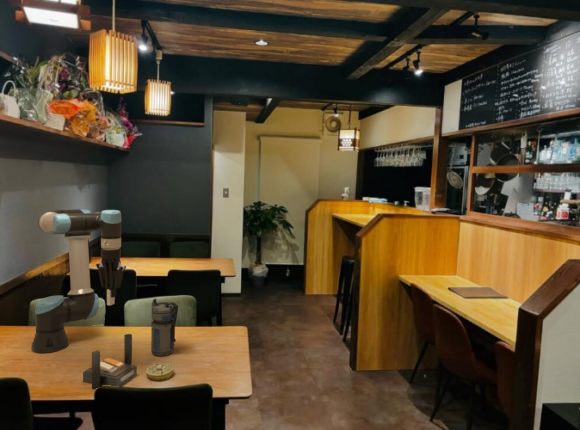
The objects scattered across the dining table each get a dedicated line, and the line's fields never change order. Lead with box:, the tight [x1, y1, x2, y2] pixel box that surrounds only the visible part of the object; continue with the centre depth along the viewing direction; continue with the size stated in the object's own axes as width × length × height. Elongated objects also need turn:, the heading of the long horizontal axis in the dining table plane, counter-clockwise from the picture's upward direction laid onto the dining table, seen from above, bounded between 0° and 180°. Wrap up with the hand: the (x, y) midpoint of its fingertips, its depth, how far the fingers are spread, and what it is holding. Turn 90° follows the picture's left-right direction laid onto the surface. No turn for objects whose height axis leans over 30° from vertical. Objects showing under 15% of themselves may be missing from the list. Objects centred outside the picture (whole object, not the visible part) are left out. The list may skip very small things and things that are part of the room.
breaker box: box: [82, 359, 138, 387], centre depth 168 cm, size 16×12×5 cm
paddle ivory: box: [100, 361, 117, 373], centre depth 166 cm, size 8×3×1 cm, turn 74°
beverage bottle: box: [150, 298, 179, 357], centre depth 194 cm, size 10×13×25 cm
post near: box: [91, 350, 101, 390], centre depth 160 cm, size 3×3×14 cm
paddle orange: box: [103, 357, 124, 369], centre depth 170 cm, size 8×3×1 cm, turn 74°
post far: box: [123, 333, 133, 365], centre depth 179 cm, size 3×3×14 cm
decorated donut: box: [145, 363, 174, 381], centre depth 172 cm, size 10×11×4 cm
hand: (110, 304), depth 172 cm, fingers closed
